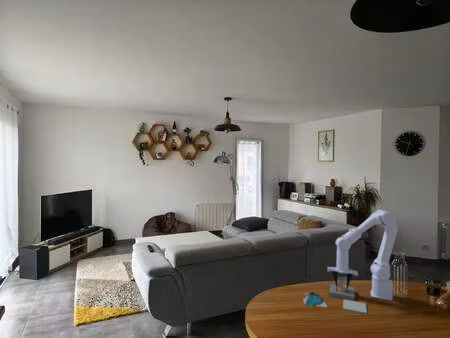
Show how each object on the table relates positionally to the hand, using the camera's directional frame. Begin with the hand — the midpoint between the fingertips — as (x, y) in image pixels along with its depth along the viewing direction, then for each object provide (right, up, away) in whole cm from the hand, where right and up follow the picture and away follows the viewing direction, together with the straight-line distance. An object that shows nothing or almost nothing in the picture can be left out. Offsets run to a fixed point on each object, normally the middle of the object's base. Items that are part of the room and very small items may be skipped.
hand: (341, 286), depth 153 cm
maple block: (0, -3, 0) cm, 3 cm away
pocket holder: (0, -4, 0) cm, 3 cm away
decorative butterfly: (-18, -4, -10) cm, 21 cm away
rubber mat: (0, -4, -14) cm, 15 cm away
